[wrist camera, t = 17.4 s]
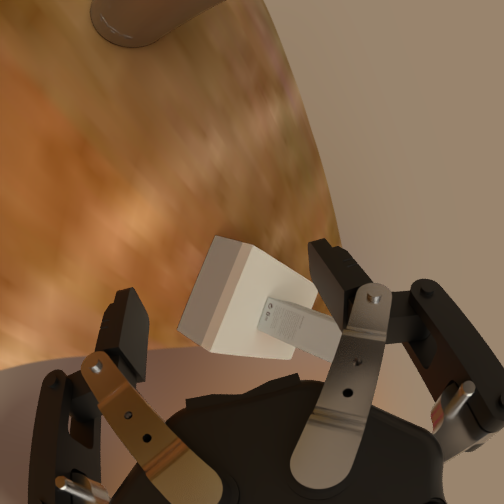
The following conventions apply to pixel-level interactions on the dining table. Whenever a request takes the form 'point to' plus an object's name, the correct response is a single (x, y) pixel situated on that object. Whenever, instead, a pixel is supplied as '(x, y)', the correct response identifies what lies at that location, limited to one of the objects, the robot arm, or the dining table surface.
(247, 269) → the shelf bench
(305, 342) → the skincare box
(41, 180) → the dining table surface
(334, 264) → the robot arm
